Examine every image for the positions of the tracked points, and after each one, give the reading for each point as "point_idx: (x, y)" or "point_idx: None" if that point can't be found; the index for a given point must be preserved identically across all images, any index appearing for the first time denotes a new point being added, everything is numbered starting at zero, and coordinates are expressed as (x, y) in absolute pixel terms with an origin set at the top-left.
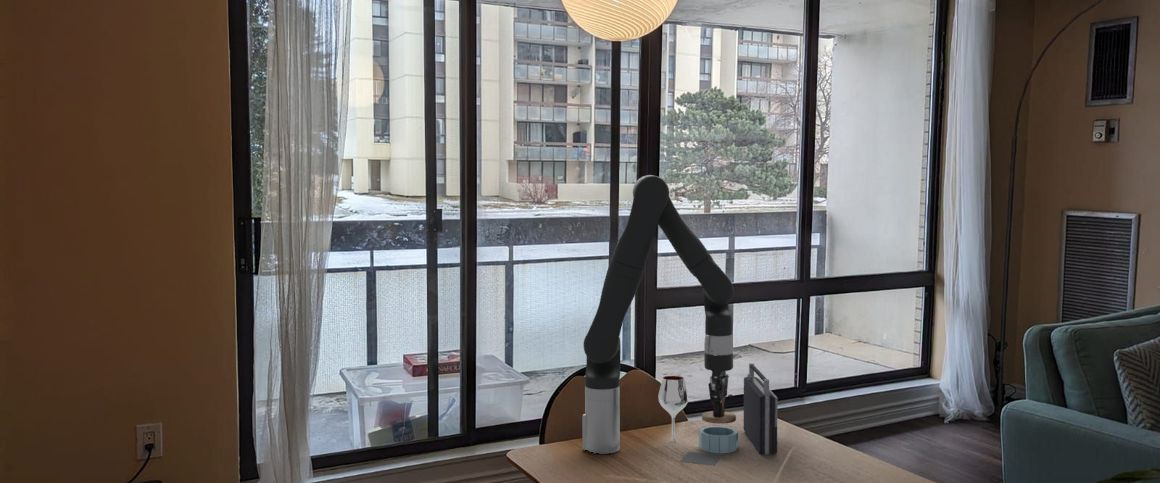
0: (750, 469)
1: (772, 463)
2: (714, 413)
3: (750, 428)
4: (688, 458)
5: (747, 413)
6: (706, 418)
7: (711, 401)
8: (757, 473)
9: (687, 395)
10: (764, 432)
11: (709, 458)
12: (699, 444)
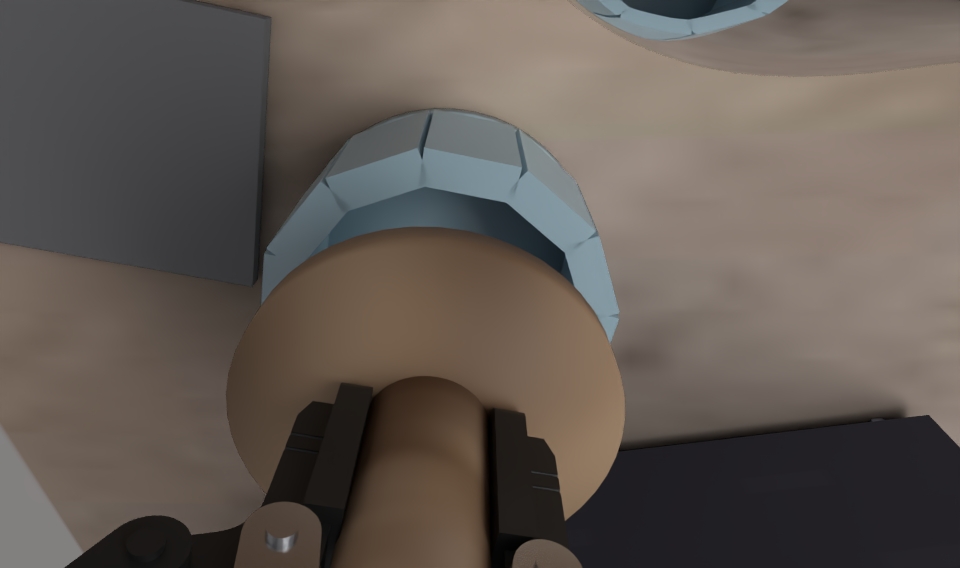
0: (77, 427)
1: (239, 523)
2: (296, 420)
3: (670, 510)
4: (61, 29)
5: (846, 565)
6: (267, 301)
7: (124, 536)
8: (21, 457)
9: (721, 69)
10: None
11: (135, 200)
12: (409, 119)
